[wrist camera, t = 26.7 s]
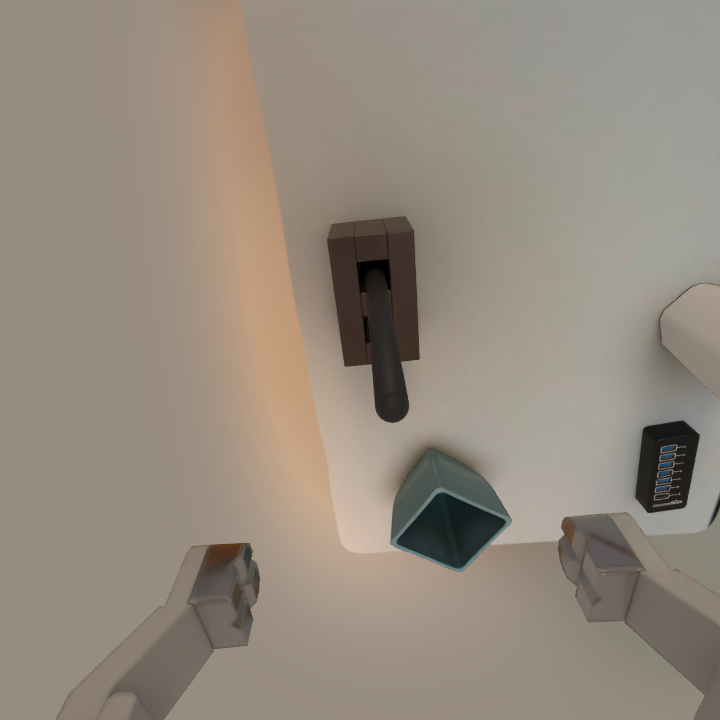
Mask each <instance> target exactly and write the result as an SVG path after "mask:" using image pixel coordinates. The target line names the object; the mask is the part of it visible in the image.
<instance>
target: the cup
mask: <svg viewBox="0 0 720 720" xmlns="http://www.w3.org/2000/svg"><path fill="white" fill-rule="evenodd" d="M660 326H661V338H662V345H663V346H665V347H666V348H667V349H668V350H669V351H670V352H671V353H672V354H673V355H674V356H675V357H676V358H677V359H678V360H679V361H680V362H681V363H682V364H683V365H684V366H685V367H686V368H687V369H688V370H689V371H690V372H692V373H693V374H694V375H695V376H696V377H697V378H698V379H699V380H700V381H701V382H702V383H703V384H704V385H705V386H706V387H707V388H708V389H709V390H710V391H711V392H712V393H713V394H714V395H715V396H716V397H717V398H719V399H720V286H716V285H709V284H699V285H696V286H693V287H691V288H690V289H689V290H687V291H686V292H685V293H684V294H683V295H682V296H680V297H679V298H678V299H677V300H676V301H675V302H673V303H672V304H671V305H670V306H669V307H667V308H666V309H665V310H664V312H663V314H662V316H661V318H660Z"/></svg>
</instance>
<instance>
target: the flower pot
mask: <svg viewBox="0 0 720 720" xmlns="http://www.w3.org/2000/svg"><path fill="white" fill-rule="evenodd" d="M511 521H512V519H511V518H510V516H509V514H508V513H507V511H506V509H505V508H504V506H503V504H502V502H501V501H500V499H499V498H498V496H497V494H496V493H495V491H494V489H493V488H492V487H491V485H490V484H489V483H488V482H487V481H486V480H485V479H484V478H483V477H482V476H481V475H480V474H478V473H477V472H476V471H474V470H473V469H471V468H469V467H468V466H466V465H464V464H462V463H460V462H458V461H456V460H454V459H452V458H449V457H447V456H445V455H443V454H441V453H439V452H437V451H435V450H428V451H427V452H426V453H425V455H424V456H423V457H422V459H421V460H420V461H419V462H418V464H417V465H416V466H415V467H414V469H413V470H412V471H411V472H410V473H409V475H408V476H407V477H406V479H405V480H404V482H403V484H402V485H401V487H400V489H399V491H398V493H397V495H396V498H395V501H394V505H393V514H392V529H391V545H393V546H394V547H396V548H398V549H401V550H404V551H406V552H409V553H412V554H414V555H417V556H419V557H422V558H425V559H427V560H430V561H432V562H434V563H437V564H439V565H442V566H444V567H446V568H448V569H451V570H453V571H457V572H462V571H464V570H465V569H466V568H467V567H468V566H469V565H470V564H471V563H472V562H473V561H474V560H475V559H476V558H477V557H478V556H479V555H480V553H482V551H484V549H486V548H487V546H489V545H490V543H491V542H492V541H493V540H495V538H496V537H497V536H498V535H499V534H501V533H502V532H503V531H504V530H505V529H506V528H507V527H508V526H509V525H510V523H511Z"/></svg>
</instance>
